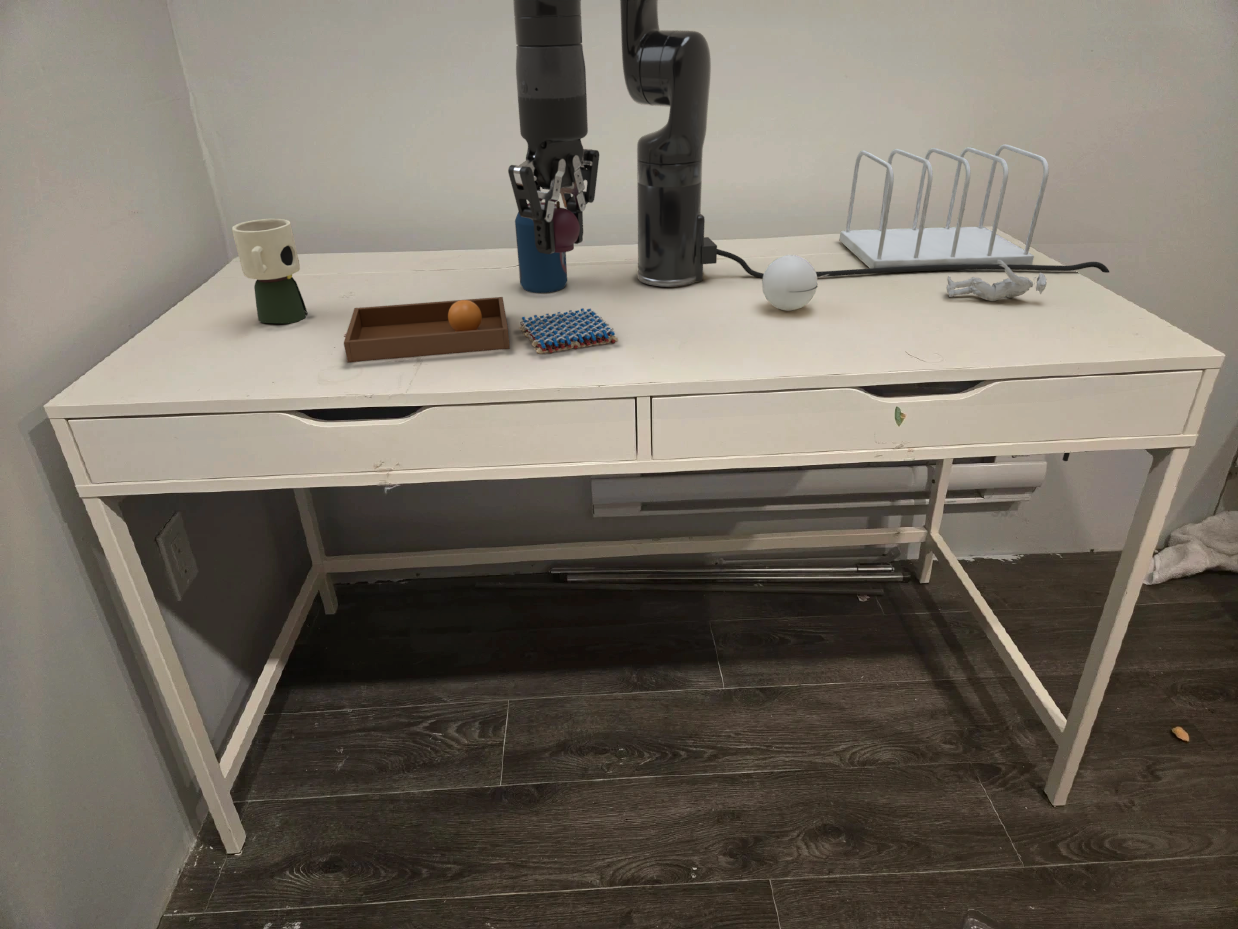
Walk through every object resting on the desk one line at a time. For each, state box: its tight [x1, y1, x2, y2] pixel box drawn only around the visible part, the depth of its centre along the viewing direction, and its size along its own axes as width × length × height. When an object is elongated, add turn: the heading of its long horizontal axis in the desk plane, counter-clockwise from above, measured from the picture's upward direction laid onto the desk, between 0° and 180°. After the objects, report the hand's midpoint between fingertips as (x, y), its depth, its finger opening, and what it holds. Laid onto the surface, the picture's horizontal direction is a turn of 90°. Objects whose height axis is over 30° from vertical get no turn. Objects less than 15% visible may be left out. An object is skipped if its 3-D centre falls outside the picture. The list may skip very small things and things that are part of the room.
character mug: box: [231, 218, 309, 325], centre depth 107 cm, size 11×7×13 cm, turn 7°
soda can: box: [514, 201, 568, 294], centre depth 117 cm, size 7×7×12 cm
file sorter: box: [838, 144, 1050, 269], centre depth 127 cm, size 25×17×16 cm
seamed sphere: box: [761, 254, 829, 312], centre depth 109 cm, size 10×7×7 cm
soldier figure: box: [946, 260, 1048, 302], centre depth 111 cm, size 8×5×12 cm
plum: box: [552, 200, 580, 253], centre depth 96 cm, size 5×5×6 cm
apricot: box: [448, 299, 482, 332], centre depth 103 cm, size 4×4×4 cm
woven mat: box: [518, 307, 619, 355], centre depth 102 cm, size 10×11×2 cm
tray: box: [343, 296, 511, 363], centre depth 102 cm, size 19×12×3 cm, turn 100°
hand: (560, 246), depth 97 cm, fingers closed on plum, 4 cm apart
